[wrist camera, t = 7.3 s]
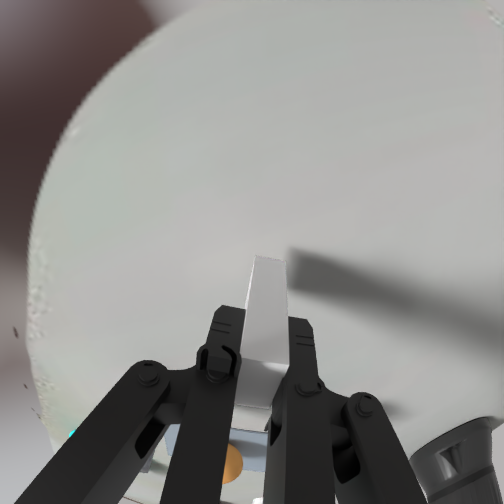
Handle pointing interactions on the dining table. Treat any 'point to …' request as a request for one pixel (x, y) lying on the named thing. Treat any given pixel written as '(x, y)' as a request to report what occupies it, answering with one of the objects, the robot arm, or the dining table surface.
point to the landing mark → (243, 440)
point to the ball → (232, 464)
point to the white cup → (258, 500)
